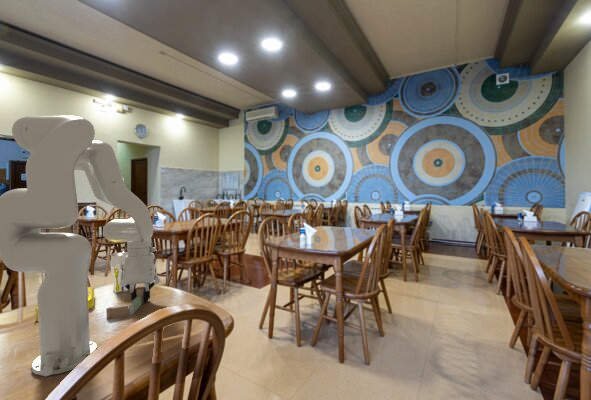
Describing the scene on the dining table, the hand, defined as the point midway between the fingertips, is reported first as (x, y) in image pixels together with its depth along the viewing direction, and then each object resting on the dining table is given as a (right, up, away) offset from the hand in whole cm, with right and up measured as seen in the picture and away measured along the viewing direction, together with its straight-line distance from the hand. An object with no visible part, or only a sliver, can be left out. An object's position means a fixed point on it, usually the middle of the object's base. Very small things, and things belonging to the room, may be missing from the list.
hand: (140, 301), depth 101 cm
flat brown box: (+3, -2, -5) cm, 6 cm away
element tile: (-24, -2, -3) cm, 24 cm away
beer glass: (-15, -1, +13) cm, 20 cm away
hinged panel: (+1, -1, -3) cm, 3 cm away
